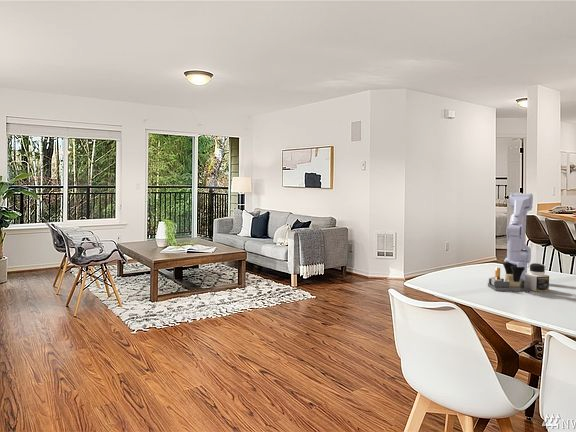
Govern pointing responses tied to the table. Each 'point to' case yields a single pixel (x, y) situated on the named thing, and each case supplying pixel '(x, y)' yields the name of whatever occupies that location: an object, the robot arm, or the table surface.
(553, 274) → the table surface
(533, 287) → the medicine bottle
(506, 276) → the light wooden block
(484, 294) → the table surface
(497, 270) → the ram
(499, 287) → the press frame
